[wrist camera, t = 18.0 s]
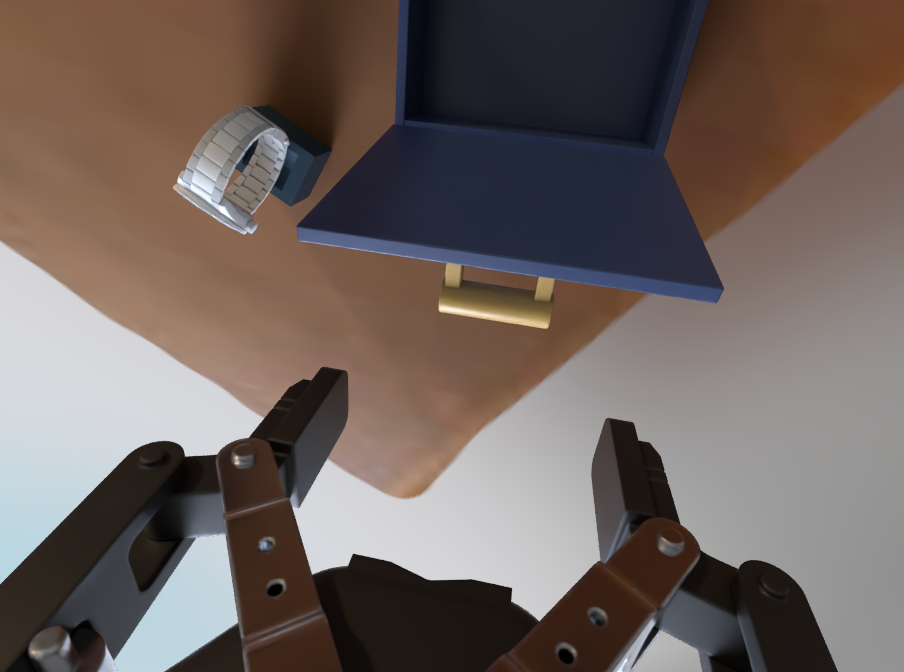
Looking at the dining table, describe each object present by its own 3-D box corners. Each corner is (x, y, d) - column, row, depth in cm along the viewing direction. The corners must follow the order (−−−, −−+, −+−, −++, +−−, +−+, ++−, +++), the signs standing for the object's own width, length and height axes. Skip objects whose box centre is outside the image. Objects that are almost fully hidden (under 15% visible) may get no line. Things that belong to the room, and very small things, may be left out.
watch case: (428, -122, 29) (404, -161, 24) (713, -103, 27) (749, -140, 22) (415, 120, 35) (394, 129, 31) (645, 148, 34) (661, 161, 29)
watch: (239, 175, 40) (142, 210, 30) (277, 83, 36) (179, 88, 26) (299, 217, 40) (223, 263, 31) (342, 131, 37) (271, 153, 27)
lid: (295, 225, 19) (309, 317, 22) (725, 288, 18) (680, 378, 20) (392, 123, 30) (393, 194, 33) (665, 157, 28) (641, 228, 31)
